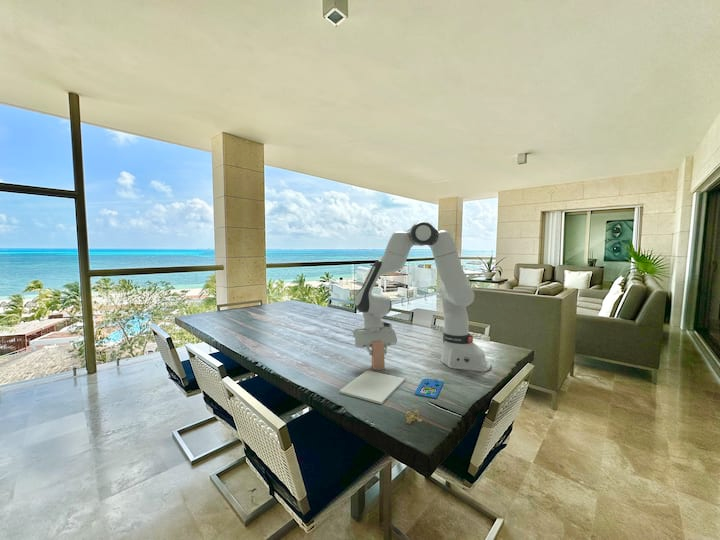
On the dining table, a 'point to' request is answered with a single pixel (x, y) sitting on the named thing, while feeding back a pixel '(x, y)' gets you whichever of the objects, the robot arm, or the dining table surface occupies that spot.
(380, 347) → the terracotta block
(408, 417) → the popcorn pieces
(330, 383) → the dining table surface
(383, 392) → the white mat
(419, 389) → the handheld gaming device
